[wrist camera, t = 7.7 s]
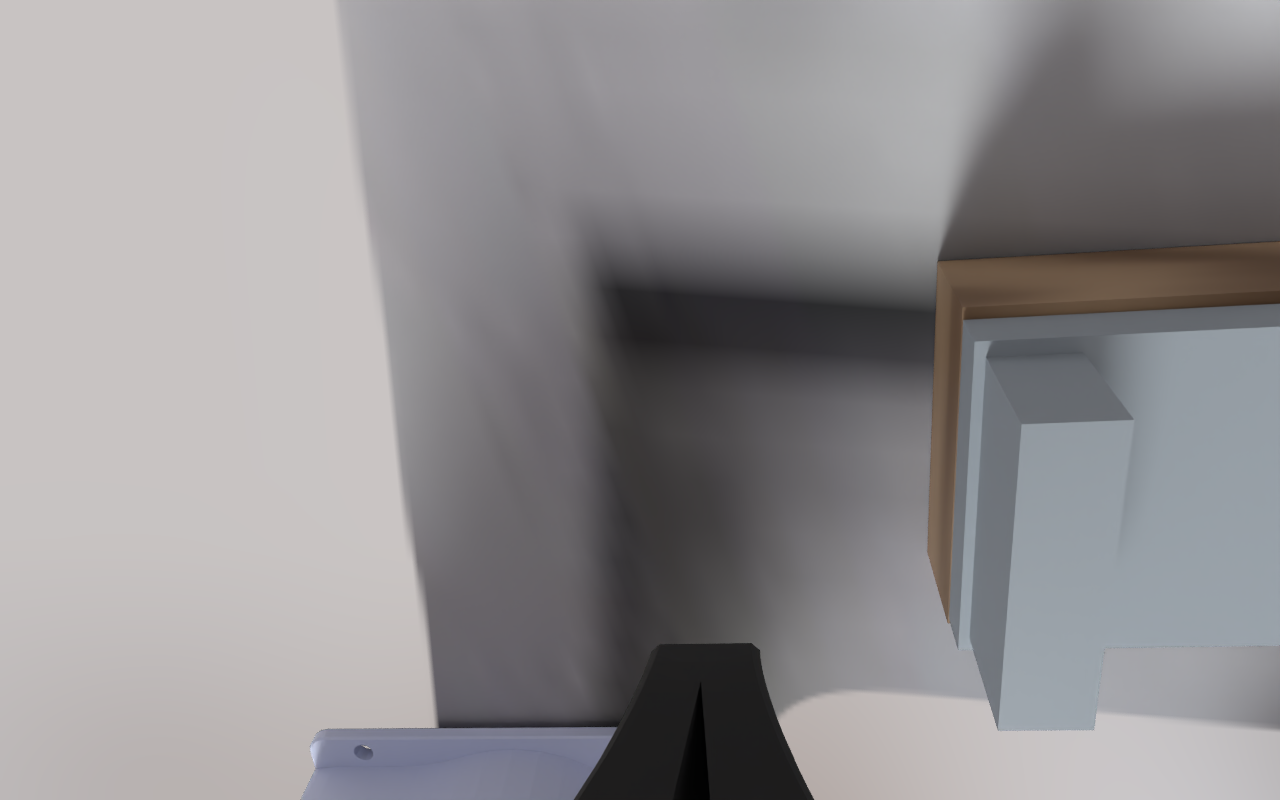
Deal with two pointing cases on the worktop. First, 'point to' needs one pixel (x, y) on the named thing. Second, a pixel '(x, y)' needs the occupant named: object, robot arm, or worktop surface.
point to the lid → (1112, 497)
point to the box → (1065, 291)
